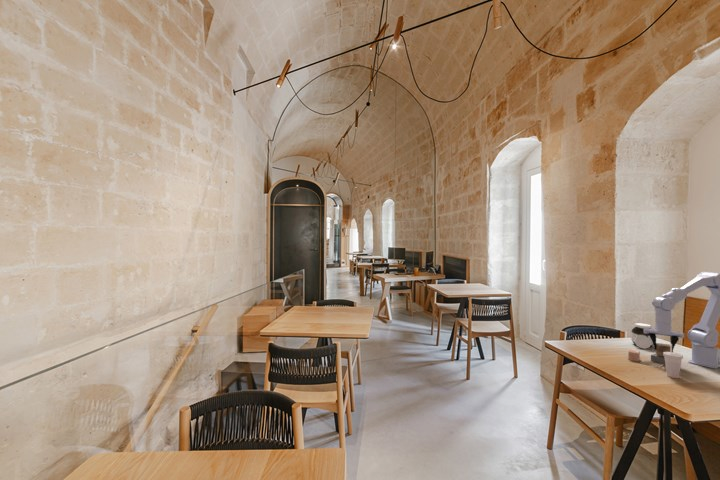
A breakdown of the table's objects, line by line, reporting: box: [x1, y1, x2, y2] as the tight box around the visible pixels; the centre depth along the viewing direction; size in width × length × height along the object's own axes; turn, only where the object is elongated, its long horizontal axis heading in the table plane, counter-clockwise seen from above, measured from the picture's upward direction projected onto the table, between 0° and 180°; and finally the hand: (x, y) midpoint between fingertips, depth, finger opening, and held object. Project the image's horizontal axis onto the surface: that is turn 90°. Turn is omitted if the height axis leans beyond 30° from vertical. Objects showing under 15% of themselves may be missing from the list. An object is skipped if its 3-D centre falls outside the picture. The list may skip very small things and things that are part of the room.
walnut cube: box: [655, 342, 670, 357], centre depth 164 cm, size 5×5×5 cm
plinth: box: [650, 353, 666, 366], centre depth 164 cm, size 7×7×4 cm
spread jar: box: [630, 322, 654, 349], centre depth 189 cm, size 12×11×12 cm
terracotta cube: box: [627, 349, 641, 363], centre depth 168 cm, size 4×4×4 cm
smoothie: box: [663, 343, 684, 379], centre depth 148 cm, size 6×6×14 cm
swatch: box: [639, 359, 665, 368], centre depth 162 cm, size 7×7×1 cm
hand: (663, 350), depth 164 cm, fingers open, 5 cm apart
